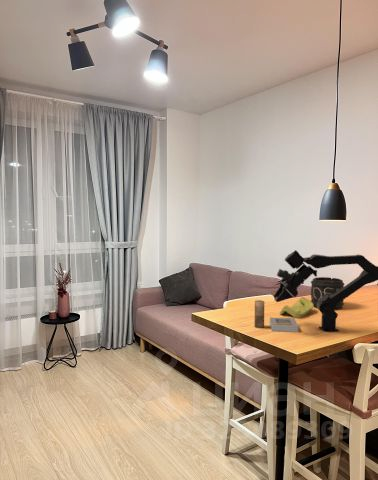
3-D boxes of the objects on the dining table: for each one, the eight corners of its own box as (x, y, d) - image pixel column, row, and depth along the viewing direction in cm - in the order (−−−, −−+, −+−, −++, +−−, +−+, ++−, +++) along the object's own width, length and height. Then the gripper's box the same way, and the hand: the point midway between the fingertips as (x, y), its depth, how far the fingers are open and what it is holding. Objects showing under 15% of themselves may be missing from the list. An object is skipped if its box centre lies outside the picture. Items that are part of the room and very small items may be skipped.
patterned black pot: (323, 311, 196) (324, 283, 195) (304, 304, 213) (304, 277, 213) (351, 309, 201) (352, 281, 200) (330, 302, 218) (331, 276, 217)
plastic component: (300, 315, 182) (283, 303, 187) (294, 326, 185) (278, 315, 190) (316, 304, 196) (300, 294, 202) (310, 315, 199) (295, 305, 205)
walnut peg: (265, 327, 168) (265, 302, 167) (256, 328, 167) (257, 302, 166) (261, 325, 172) (262, 300, 171) (253, 325, 171) (253, 300, 170)
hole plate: (294, 324, 173) (294, 317, 173) (298, 332, 162) (298, 324, 161) (269, 323, 175) (269, 317, 174) (271, 330, 163) (271, 323, 163)
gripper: (285, 260, 175) (261, 283, 177) (290, 266, 157) (264, 290, 159) (301, 277, 175) (278, 299, 177) (309, 284, 156) (282, 309, 158)
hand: (275, 299), depth 168 cm, fingers open, 9 cm apart
